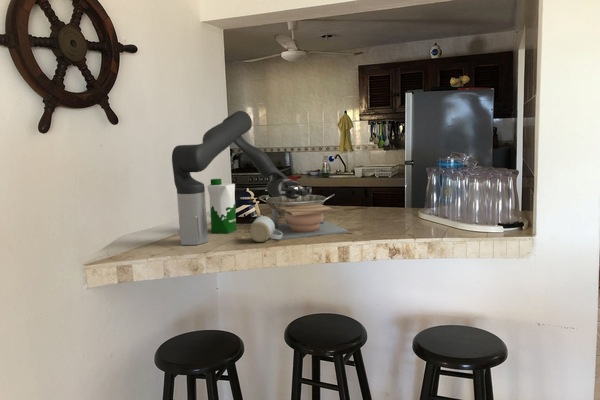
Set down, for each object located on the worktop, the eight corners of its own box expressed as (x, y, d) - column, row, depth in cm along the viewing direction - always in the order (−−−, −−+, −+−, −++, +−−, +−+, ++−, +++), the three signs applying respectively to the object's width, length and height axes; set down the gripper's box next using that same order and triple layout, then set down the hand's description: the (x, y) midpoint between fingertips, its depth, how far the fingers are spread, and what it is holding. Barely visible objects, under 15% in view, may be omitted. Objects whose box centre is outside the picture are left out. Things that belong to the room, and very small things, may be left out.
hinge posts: (272, 229, 174) (271, 208, 173) (321, 224, 181) (320, 204, 180) (273, 230, 173) (272, 209, 172) (323, 225, 179) (322, 205, 178)
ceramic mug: (249, 243, 152) (246, 221, 151) (254, 238, 160) (252, 216, 159) (280, 241, 150) (278, 218, 149) (284, 236, 159) (282, 214, 158)
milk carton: (219, 228, 180) (216, 178, 177) (240, 229, 177) (237, 178, 174) (207, 233, 171) (204, 180, 169) (229, 234, 168) (226, 180, 166)
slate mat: (260, 227, 180) (260, 225, 180) (321, 220, 188) (321, 219, 188) (279, 240, 156) (279, 238, 156) (348, 232, 164) (348, 230, 164)
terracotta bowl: (321, 232, 162) (321, 213, 161) (282, 233, 164) (282, 213, 163) (325, 225, 176) (324, 207, 175) (289, 225, 177) (288, 207, 177)
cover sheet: (277, 208, 174) (277, 206, 173) (316, 205, 179) (316, 202, 179) (292, 215, 156) (292, 213, 156) (335, 211, 161) (335, 209, 161)
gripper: (273, 180, 181) (286, 184, 165) (304, 178, 185) (320, 182, 169) (274, 199, 182) (287, 205, 166) (305, 196, 186) (321, 202, 170)
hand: (304, 193), depth 168 cm, fingers closed
